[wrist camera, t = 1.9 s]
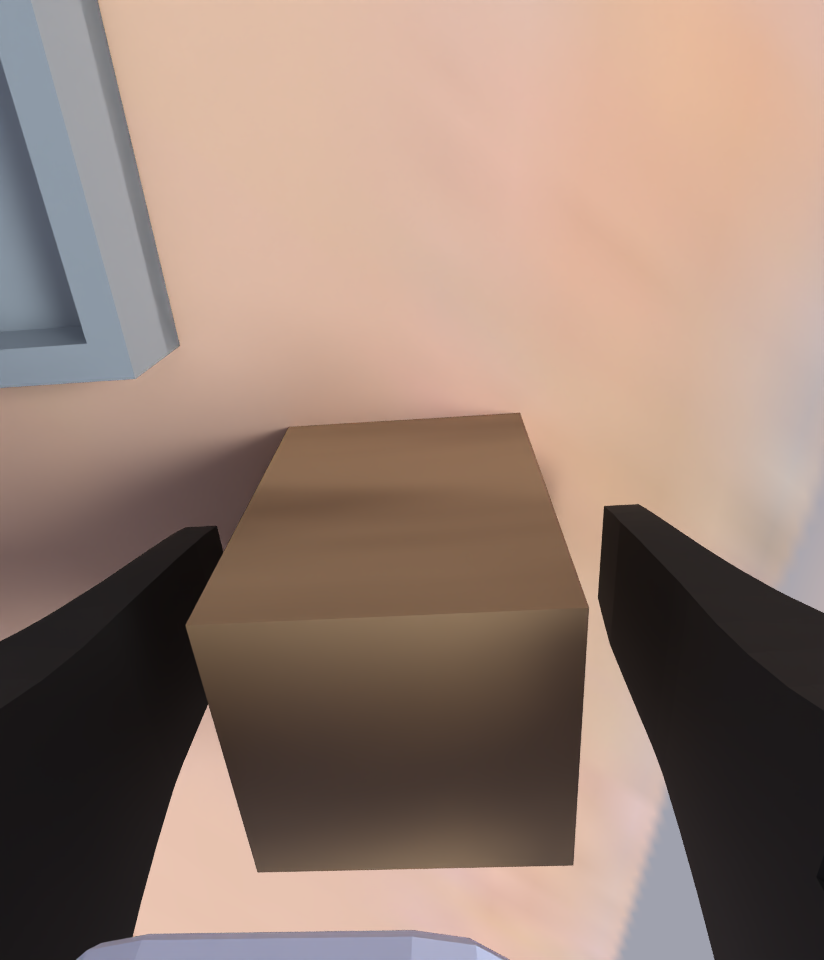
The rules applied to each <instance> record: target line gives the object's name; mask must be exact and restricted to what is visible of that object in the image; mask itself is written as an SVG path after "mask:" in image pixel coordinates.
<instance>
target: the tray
mask: <svg viewBox="0 0 824 960" xmlns="http://www.w3.org/2000/svg"><path fill="white" fill-rule="evenodd" d="M179 346H180V344H179V340H178V336H177V332H176V328H175V323H174V319H173V315H172V311H171V307H170V302H169V298H168V294H167V290H166V286H165V281H164V277H163V273H162V269H161V265H160V261H159V256H158V252H157V248H156V244H155V240H154V235H153V231H152V227H151V223H150V219H149V214H148V210H147V206H146V202H145V198H144V193H143V189H142V185H141V181H140V177H139V173H138V168H137V164H136V160H135V156H134V152H133V147H132V143H131V139H130V135H129V131H128V126H127V122H126V118H125V114H124V110H123V105H122V101H121V97H120V93H119V89H118V85H117V80H116V76H115V72H114V68H113V64H112V59H111V55H110V51H109V47H108V43H107V38H106V34H105V30H104V26H103V22H102V17H101V13H100V9H99V5H98V1H97V0H0V388H4V387H20V386H35V385H50V384H65V383H80V382H95V381H111V380H126V379H136V378H137V377H139V376H140V375H141V374H143V373H144V372H145V371H147V370H148V369H149V368H151V367H152V366H153V365H155V364H156V363H157V362H159V361H160V360H161V359H163V358H164V357H165V356H167V355H168V354H169V353H171V352H172V351H173V350H175V349H176V348H177V347H179Z"/></svg>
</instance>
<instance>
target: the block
mask: <svg viewBox="0 0 824 960" xmlns="http://www.w3.org/2000/svg"><path fill="white" fill-rule="evenodd" d="M588 614H589V607H588V604H587V601H586V598H585V595H584V592H583V590H582V587H581V584H580V581H579V578H578V575H577V573H576V570H575V567H574V564H573V561H572V559H571V556H570V553H569V550H568V547H567V544H566V542H565V539H564V536H563V533H562V530H561V528H560V525H559V522H558V519H557V516H556V513H555V511H554V508H553V505H552V502H551V499H550V496H549V494H548V491H547V488H546V485H545V482H544V480H543V477H542V474H541V471H540V468H539V465H538V463H537V460H536V457H535V454H534V451H533V448H532V446H531V443H530V440H529V437H528V434H527V432H526V429H525V426H524V423H523V420H522V417H521V415H520V413H512V414H496V415H479V416H463V417H446V418H430V419H413V420H396V421H380V422H363V423H347V424H330V425H314V426H297V427H289V428H288V430H287V432H286V434H285V436H284V437H283V439H282V441H281V443H280V445H279V447H278V449H277V451H276V453H275V455H274V457H273V458H272V460H271V462H270V464H269V466H268V468H267V470H266V472H265V474H264V476H263V478H262V480H261V481H260V483H259V485H258V487H257V489H256V491H255V493H254V495H253V497H252V499H251V501H250V503H249V504H248V506H247V508H246V510H245V512H244V514H243V516H242V518H241V520H240V522H239V524H238V526H237V527H236V529H235V531H234V533H233V535H232V537H231V539H230V541H229V543H228V545H227V547H226V549H225V550H224V552H223V554H222V556H221V558H220V560H219V562H218V564H217V566H216V568H215V570H214V572H213V573H212V575H211V577H210V579H209V581H208V583H207V585H206V587H205V589H204V591H203V593H202V594H201V596H200V598H199V600H198V602H197V604H196V606H195V608H194V610H193V612H192V614H191V616H190V617H189V619H188V621H187V623H186V625H185V626H186V629H187V633H188V636H189V639H190V643H191V646H192V650H193V653H194V657H195V660H196V663H197V667H198V670H199V674H200V677H201V680H202V684H203V687H204V691H205V694H206V698H207V701H208V704H209V708H210V711H211V715H212V718H213V721H214V725H215V728H216V732H217V735H218V739H219V742H220V745H221V749H222V752H223V756H224V759H225V762H226V766H227V769H228V773H229V776H230V780H231V783H232V786H233V790H234V793H235V797H236V800H237V803H238V807H239V810H240V814H241V817H242V821H243V824H244V827H245V831H246V834H247V838H248V841H249V844H250V848H251V851H252V855H253V858H254V862H255V865H256V868H257V872H296V871H342V870H387V869H432V868H477V867H523V866H568V865H573V861H574V845H575V828H576V812H577V795H578V779H579V762H580V746H581V730H582V713H583V697H584V680H585V664H586V647H587V631H588Z"/></svg>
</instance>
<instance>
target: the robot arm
mask: <svg viewBox="0 0 824 960" xmlns="http://www.w3.org/2000/svg"><path fill="white" fill-rule="evenodd" d="M222 554H223V549H222V545H221V541H220V537H219V533H218V529H217V526H206V527H187V528H184V529H182V530H180V531H178V532H176V533H174V534H173V535H171V536H170V537H168V538H166V539H165V540H163V541H162V542H160V543H159V544H157V545H156V546H154V547H153V548H151V549H150V550H148V551H147V552H145V553H144V554H142V555H141V556H139V557H138V558H136V559H135V560H133V561H132V562H131V563H129V564H128V565H126V566H125V567H123V568H122V569H120V570H119V571H117V572H116V573H114V574H113V575H111V576H110V577H108V578H107V579H105V580H104V581H102V582H101V583H99V584H98V585H96V586H95V587H93V588H91V589H90V590H88V591H87V592H85V593H83V594H82V595H80V596H79V597H77V598H75V599H74V600H72V601H71V602H69V603H67V604H66V605H64V606H63V607H61V608H59V609H58V610H56V611H55V612H53V613H51V614H50V615H48V616H46V617H44V618H43V619H41V620H39V621H38V622H36V623H34V624H32V625H30V626H29V627H27V628H25V629H23V630H21V631H19V632H17V633H15V634H14V635H12V636H10V637H8V638H6V639H4V640H2V641H0V960H509V959H507V958H506V957H504V956H502V955H500V954H498V953H496V952H494V951H493V950H491V949H489V948H487V947H485V946H483V945H481V944H480V943H478V942H476V941H474V940H472V939H470V938H465V937H458V936H451V935H444V934H437V933H429V932H422V931H415V930H396V931H325V932H253V933H181V934H147V935H142V936H136V937H133V933H134V929H135V925H136V921H137V916H138V912H139V908H140V904H141V900H142V897H143V893H144V889H145V886H146V882H147V879H148V875H149V871H150V868H151V864H152V860H153V857H154V853H155V849H156V846H157V842H158V839H159V835H160V832H161V829H162V825H163V822H164V819H165V816H166V812H167V809H168V806H169V802H170V799H171V796H172V792H173V789H174V786H175V784H176V781H177V778H178V775H179V773H180V770H181V767H182V765H183V762H184V760H185V757H186V755H187V753H188V750H189V748H190V746H191V743H192V741H193V739H194V736H195V734H196V731H197V729H198V727H199V724H200V722H201V720H202V717H203V715H204V713H205V710H206V708H207V705H208V701H207V698H206V694H205V691H204V687H203V684H202V680H201V677H200V674H199V670H198V667H197V663H196V660H195V657H194V653H193V650H192V646H191V643H190V639H189V636H188V633H187V629H186V626H185V625H186V623H187V621H188V619H189V617H190V616H191V614H192V612H193V610H194V608H195V606H196V604H197V602H198V600H199V598H200V596H201V594H202V593H203V591H204V589H205V587H206V585H207V583H208V581H209V579H210V577H211V575H212V573H213V572H214V570H215V568H216V566H217V564H218V562H219V560H220V558H221V556H222ZM598 600H599V604H600V608H601V612H602V616H603V620H604V624H605V628H606V631H607V635H608V638H609V642H610V645H611V648H612V650H613V653H614V655H615V658H616V660H617V663H618V665H619V668H620V670H621V672H622V675H623V677H624V680H625V682H626V685H627V687H628V689H629V692H630V694H631V696H632V699H633V701H634V704H635V706H636V708H637V711H638V713H639V716H640V718H641V720H642V723H643V725H644V727H645V730H646V732H647V735H648V737H649V739H650V742H651V744H652V747H653V749H654V752H655V754H656V757H657V760H658V762H659V765H660V768H661V771H662V773H663V776H664V780H665V783H666V786H667V790H668V793H669V796H670V800H671V803H672V806H673V810H674V813H675V816H676V819H677V823H678V826H679V829H680V833H681V836H682V840H683V844H684V847H685V851H686V854H687V858H688V861H689V865H690V868H691V872H692V876H693V879H694V883H695V887H696V890H697V894H698V898H699V901H700V905H701V909H702V913H703V917H704V920H705V924H706V928H707V932H708V936H709V940H710V944H711V947H712V951H713V955H714V959H715V960H824V613H823V612H821V611H818V610H816V609H814V608H812V607H810V606H808V605H806V604H804V603H802V602H799V601H797V600H795V599H793V598H791V597H789V596H787V595H785V594H783V593H781V592H779V591H777V590H775V589H774V588H772V587H770V586H768V585H766V584H764V583H763V582H761V581H759V580H757V579H756V578H754V577H752V576H750V575H749V574H747V573H745V572H743V571H742V570H740V569H738V568H736V567H735V566H733V565H731V564H730V563H728V562H727V561H725V560H723V559H722V558H720V557H718V556H717V555H715V554H714V553H712V552H711V551H709V550H707V549H706V548H704V547H703V546H701V545H700V544H698V543H697V542H695V541H694V540H692V539H691V538H689V537H688V536H686V535H685V534H683V533H682V532H680V531H679V530H677V529H676V528H674V527H673V526H671V525H670V524H668V523H667V522H665V521H664V520H663V519H661V518H660V517H658V516H657V515H655V514H654V513H652V512H650V511H649V510H647V509H646V508H644V507H642V506H640V505H639V504H635V505H616V506H604V516H603V530H602V545H601V560H600V575H599V590H598Z"/></svg>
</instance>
